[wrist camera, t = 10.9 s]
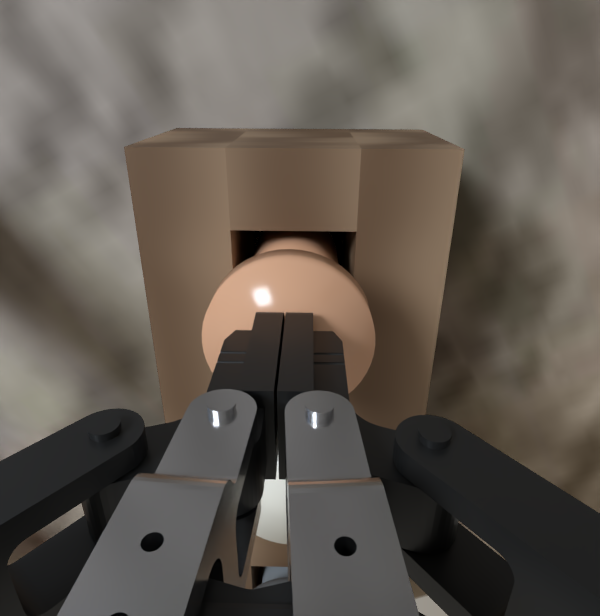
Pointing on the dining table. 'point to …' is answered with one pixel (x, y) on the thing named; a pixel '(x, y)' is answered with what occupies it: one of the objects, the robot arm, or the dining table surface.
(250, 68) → the dining table surface
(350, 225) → the walnut block
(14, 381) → the dining table surface
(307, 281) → the terracotta plug
